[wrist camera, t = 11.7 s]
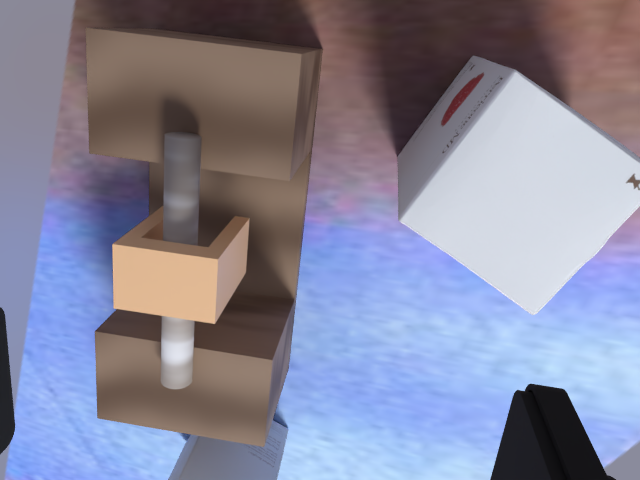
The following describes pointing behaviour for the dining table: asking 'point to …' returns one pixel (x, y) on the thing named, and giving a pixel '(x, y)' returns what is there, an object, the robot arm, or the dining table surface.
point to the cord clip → (178, 271)
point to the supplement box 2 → (514, 183)
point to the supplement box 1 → (231, 458)
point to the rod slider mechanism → (207, 217)
